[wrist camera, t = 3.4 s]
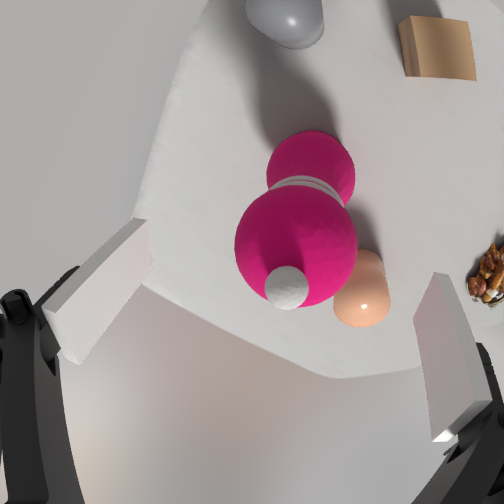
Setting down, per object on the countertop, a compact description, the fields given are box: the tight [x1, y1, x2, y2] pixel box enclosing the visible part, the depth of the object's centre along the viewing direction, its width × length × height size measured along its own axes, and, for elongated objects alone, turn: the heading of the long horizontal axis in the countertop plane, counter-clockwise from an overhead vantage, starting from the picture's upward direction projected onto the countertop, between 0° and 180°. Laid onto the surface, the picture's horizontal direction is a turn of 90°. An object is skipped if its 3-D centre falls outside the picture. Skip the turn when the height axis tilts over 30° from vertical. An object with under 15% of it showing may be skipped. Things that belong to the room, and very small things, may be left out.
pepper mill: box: [234, 130, 358, 310], centre depth 20 cm, size 7×7×20 cm
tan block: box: [397, 15, 477, 81], centre depth 18 cm, size 5×5×5 cm
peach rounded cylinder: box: [333, 249, 391, 327], centre depth 31 cm, size 6×6×6 cm
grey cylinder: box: [245, 0, 324, 49], centre depth 19 cm, size 5×5×8 cm
